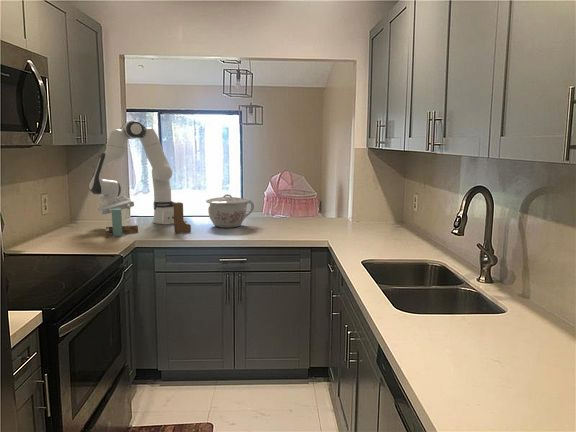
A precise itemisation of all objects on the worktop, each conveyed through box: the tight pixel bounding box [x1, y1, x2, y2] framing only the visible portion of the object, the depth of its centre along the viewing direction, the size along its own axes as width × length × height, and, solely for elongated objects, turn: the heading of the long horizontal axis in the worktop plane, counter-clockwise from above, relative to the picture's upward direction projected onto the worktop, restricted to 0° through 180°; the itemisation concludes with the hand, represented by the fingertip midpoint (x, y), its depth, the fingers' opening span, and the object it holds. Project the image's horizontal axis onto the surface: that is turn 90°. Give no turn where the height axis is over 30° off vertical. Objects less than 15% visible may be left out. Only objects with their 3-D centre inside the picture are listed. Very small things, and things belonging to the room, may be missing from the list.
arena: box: [105, 225, 139, 239], centre depth 282 cm, size 18×13×4 cm
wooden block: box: [173, 201, 192, 234], centre depth 290 cm, size 9×4×18 cm, turn 123°
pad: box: [109, 233, 126, 238], centre depth 280 cm, size 8×8×1 cm
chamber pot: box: [205, 194, 255, 229], centre depth 312 cm, size 28×28×21 cm
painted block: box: [111, 208, 123, 237], centre depth 279 cm, size 5×5×15 cm
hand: (121, 209), depth 291 cm, fingers open, 8 cm apart
